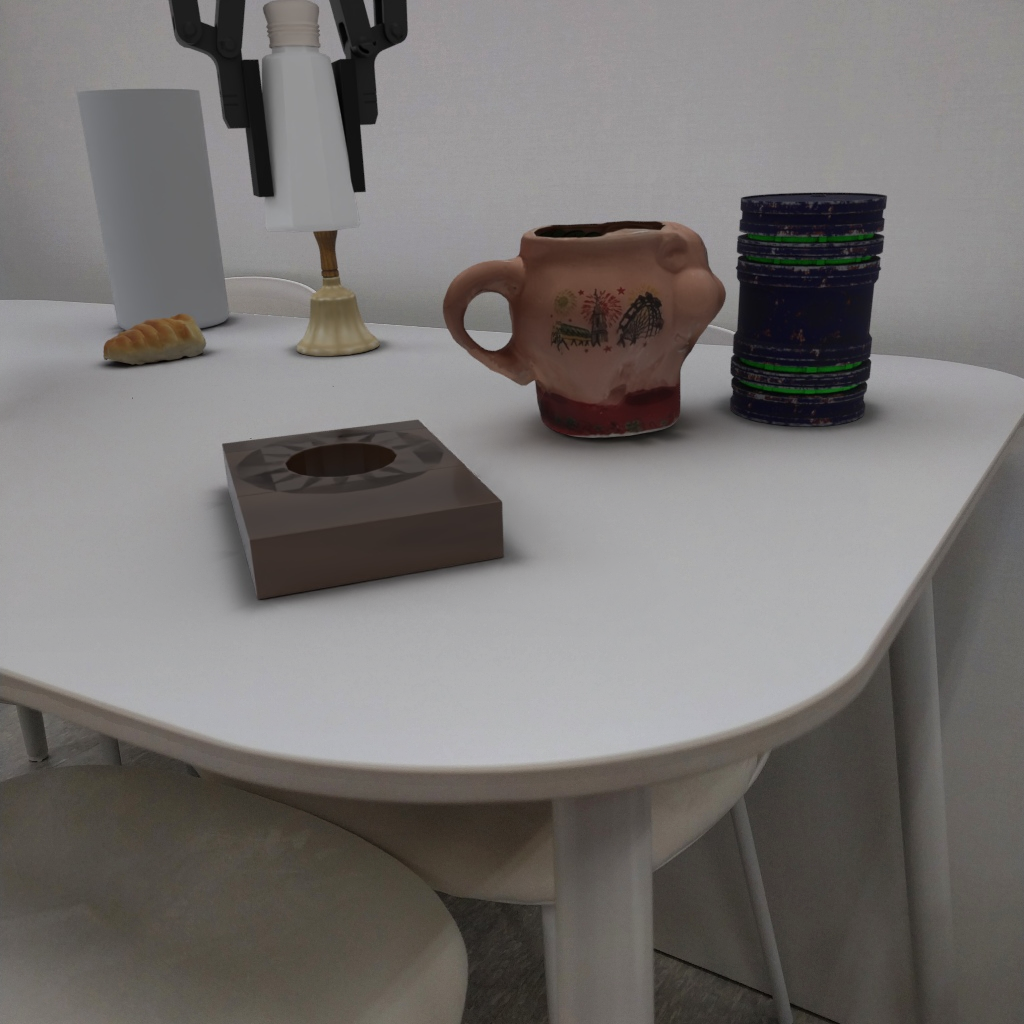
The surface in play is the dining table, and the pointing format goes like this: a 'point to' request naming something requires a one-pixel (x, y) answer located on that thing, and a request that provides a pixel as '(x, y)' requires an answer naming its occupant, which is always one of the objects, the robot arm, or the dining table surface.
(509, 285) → the ceramic mug
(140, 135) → the cylinder vase
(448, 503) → the holder
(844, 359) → the storage jar
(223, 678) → the dining table surface
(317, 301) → the hand bell
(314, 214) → the salt shaker
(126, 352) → the pastry
